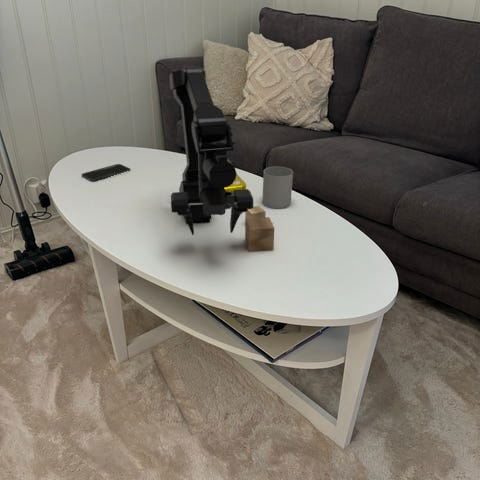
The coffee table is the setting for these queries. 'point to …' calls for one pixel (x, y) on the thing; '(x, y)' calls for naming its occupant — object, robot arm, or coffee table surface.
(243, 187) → the element tile
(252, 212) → the oak block
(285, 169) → the cup
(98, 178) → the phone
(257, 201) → the coffee table surface
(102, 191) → the coffee table surface
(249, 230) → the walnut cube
